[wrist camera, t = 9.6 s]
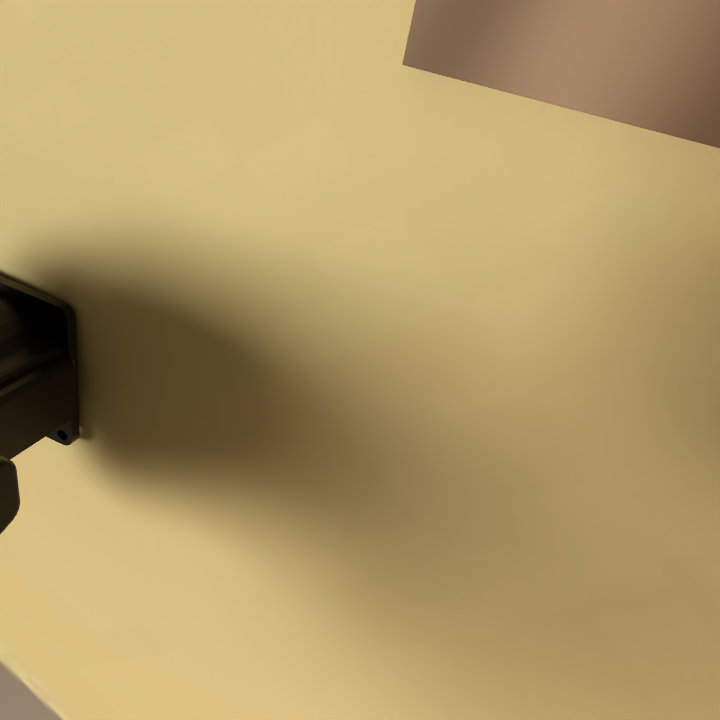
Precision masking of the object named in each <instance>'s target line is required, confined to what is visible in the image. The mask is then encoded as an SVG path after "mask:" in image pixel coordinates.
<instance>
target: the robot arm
mask: <svg viewBox="0 0 720 720" xmlns="http://www.w3.org/2000/svg"><path fill="white" fill-rule="evenodd" d="M45 436H46V437H48V438H50V439H52V440H55V441H57V442H59V443H61V444H63V445H70V444H72V443H73V442H74V441H76V440H77V439H78V438H79V410H78V379H77V347H76V318H75V313H74V311H73V309H72V308H71V307H70V306H69V305H68V304H67V303H65V302H63V301H61V300H58V299H56V298H54V297H51V296H49V295H46V294H44V293H41V292H39V291H37V290H34V289H32V288H29V287H27V286H24V285H22V284H20V283H17V282H15V281H12V280H10V279H7V278H5V277H3V276H0V534H1V533H2V532H3V531H4V530H5V528H6V527H7V526H8V525H9V524H10V523H11V522H12V520H13V519H14V518H15V516H16V514H17V512H18V510H19V506H20V496H19V487H18V479H17V470H16V466H15V464H14V463H13V462H12V461H11V460H10V459H12V458H13V457H15V456H16V455H18V454H19V453H21V452H22V451H24V450H25V449H27V448H28V447H30V446H32V445H33V444H35V443H36V442H38V441H39V440H41V439H42V438H44V437H45Z"/></svg>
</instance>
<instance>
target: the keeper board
mask: <svg viewBox="0 0 720 720" xmlns="http://www.w3.org/2000/svg"><path fill="white" fill-rule="evenodd" d="M402 65H405V66H409V67H413V68H416V69H420V70H424V71H428V72H432V73H435V74H439V75H443V76H447V77H451V78H454V79H458V80H462V81H466V82H470V83H474V84H477V85H481V86H485V87H489V88H493V89H496V90H500V91H504V92H508V93H512V94H515V95H519V96H523V97H527V98H531V99H534V100H538V101H542V102H546V103H550V104H553V105H557V106H561V107H565V108H569V109H572V110H576V111H580V112H584V113H588V114H591V115H595V116H599V117H603V118H607V119H611V120H614V121H618V122H622V123H626V124H630V125H633V126H637V127H641V128H645V129H649V130H652V131H656V132H660V133H664V134H668V135H671V136H675V137H679V138H683V139H687V140H690V141H694V142H698V143H702V144H706V145H709V146H713V147H717V148H720V0H416V3H415V7H414V12H413V17H412V22H411V26H410V31H409V36H408V41H407V45H406V50H405V55H404V60H403V64H402Z"/></svg>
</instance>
